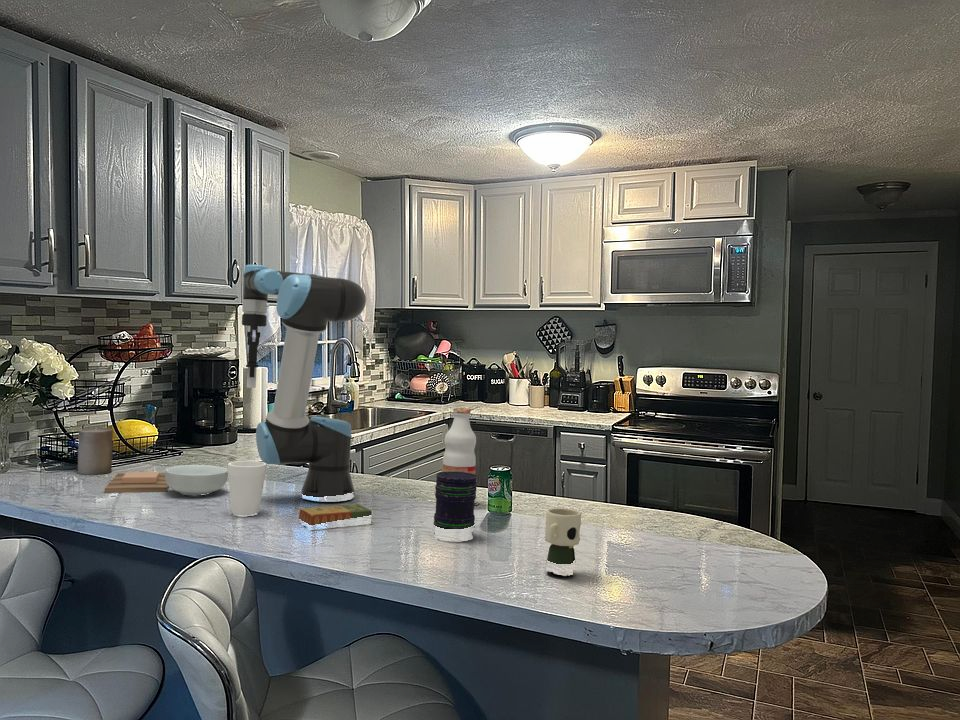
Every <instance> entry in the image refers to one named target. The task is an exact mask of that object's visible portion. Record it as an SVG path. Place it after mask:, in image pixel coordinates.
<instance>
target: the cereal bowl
mask: <svg viewBox="0 0 960 720" xmlns="http://www.w3.org/2000/svg"><path fill="white" fill-rule="evenodd" d="M227 470H228V467H224V466H223V467H222V466H218V465H207V464H182V465H174V466H170V467H167V468H166V469H165V471H164V473H165V479H166V483H167V484H168V486H169V488H170V489H171V490H173V491H176V492H179V493H180V495H182V494H183V495H182V496H184V495H201V494H207V493H210V494H211V493H213V492H216V491H218V490H220V489H221V488H223V487H224V486H225V484H226V483H227V481H228V479H229V476H228V473H227Z"/></svg>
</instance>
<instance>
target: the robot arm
mask: <svg viewBox="0 0 960 720" xmlns="http://www.w3.org/2000/svg"><path fill="white" fill-rule="evenodd" d="M242 277H243V291H242V293H243V294H242V307H241V309H242V310H241V311H242V313H243V314H242V315H241V325H242V326H247V327H250V328H249V331H247V332H246V337H247V346H248V355H247V356H248V357H247V358H248V361H247V364H246V365H245V367H246V368H247V372H246V373H247V374H246V375H247V376H246V388H247V389H249V388H251V389H256V387H257V386H256V384H257V368H259V365H258V360H257V359H258V346H260V338H261V332H260V331H259V328H258V327H266V326H267V320H268V319H267V318H268V316H267V315H266V314H267V313H268V312H267V311H268V308H269V307H270V304H268V297H269V295H270V296H271V295H272V296H277V298H276V303H277V305H276V314H277V315H278V317H279V318H281V324H282V325H283V326H284V327H285V329H286V331H285V337H284V342H283V348H282V355H281V361H280V367H279V371H278V378H277V386H276V390H275V396H274V403H273V409H271V410H270V411H268V412H267V413H266V417H265V421H261V422H258V424H257V425H256V430H255V440H256V447H257V448H256V449H257V452H258V456H259V458H260V460H261V462H264V463H266V464H267V465H277V466H280V465H289V464H290V465H293V464H308V471H307V474H306V477H305V480H304V482H303V485H302V487H301V492H300V493H302V494H303V495H306V496H313V497H324V496H336V495H344V494H347V493H352V492H354V493H355V487H354V483H353V480H352V476H351V473H350V466H351V465H350V463H351V450H352V449H351V448H352V447H351V446H352V426H351V424H350V422H349V421H346V420H342V419H337V418H332V417H325V416H315V415H313V416H311V418H309V416H307V415H306V410H307V406H308V399H309V395H310V389H311V388H310V387H311V382H312V377H313V372H314V371H313V370H314V366H315V361H316V355H317V350H318V343H319V337H320V335H321V334H322V333H323V332H325V331H326V330H327V327H328V322H335V323H336V322H338V323H339V322H341V323H342V322H347V321H351V320H354V319H356V318H358V317H359V316H360V315H361V314H362V313H363V312H364V310H365V307H366V304H367V295H366V293H365V291H364V288H363V287H362V286H361V285H359V284H358V283H356V282H355V281H352V280H350V279H345V278H340V277H338V278H337V277H336V278H335V277H328V276H322V275H319V274H318V275H317V274H314V273H301V272H292V271H291V272H290V271H284V270H283V271H282V270H276V269H273V268H269V267H268V265H267V266H266V265H262V264H261V265H260V264H246V265H245V266H244V271H243V275H242Z"/></svg>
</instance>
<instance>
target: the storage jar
mask: <svg viewBox="0 0 960 720" xmlns="http://www.w3.org/2000/svg"><path fill="white" fill-rule="evenodd" d="M435 478H436V480H435V487H434V488H435V493H434V495H435V498H436V499H435V512H434V514H433V515H434V516H433V525H435V526H437V527H440V528H444V529H464V528H468V527H471V526H473V525H474V524H476V522H475V520H476V518H475V517H476V516H475V501H476V498H477V475H476V473H475V474H471V473H466V472H443V471H440V472H438V473H436V477H435Z"/></svg>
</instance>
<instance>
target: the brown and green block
mask: <svg viewBox="0 0 960 720" xmlns="http://www.w3.org/2000/svg"><path fill="white" fill-rule="evenodd" d="M372 513H373V512H372V509H370V508H367V507H365V506H363V505H360V504H356V503H355V504H344V505H341V504H340V505H330V506H316V507H307V508H305V507H304V508H299V516H298V520H299V519H301V520H302V521H304V522H306V523H308V524H309V525H315V524H321V523H326V522H332V521H337V520H344V519H350V518H357V517H363V516H369V515H372ZM372 516H373V515H372Z"/></svg>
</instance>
